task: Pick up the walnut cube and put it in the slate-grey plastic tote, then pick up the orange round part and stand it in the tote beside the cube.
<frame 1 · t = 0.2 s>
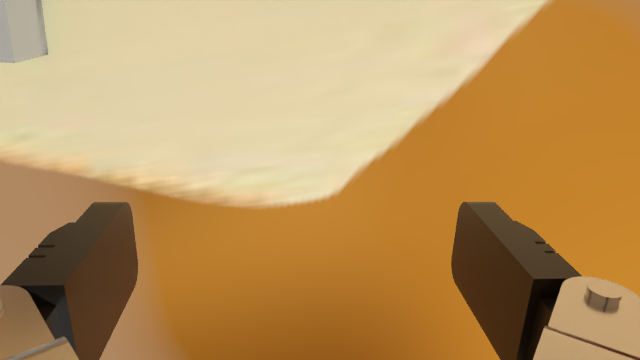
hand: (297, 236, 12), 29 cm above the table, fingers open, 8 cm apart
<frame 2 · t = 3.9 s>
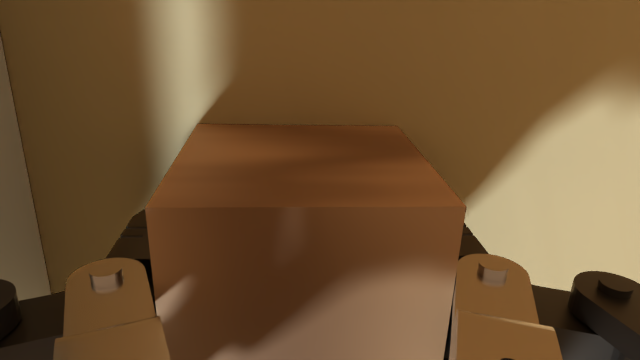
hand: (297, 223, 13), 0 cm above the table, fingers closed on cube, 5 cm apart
cube: (297, 215, 13), on the table, touching gripper
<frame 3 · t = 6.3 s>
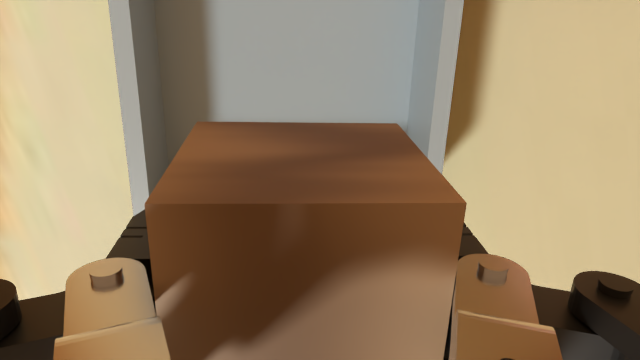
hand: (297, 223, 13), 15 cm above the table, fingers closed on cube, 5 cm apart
tote: (288, 24, 25), on the table
cube: (297, 213, 13), point 15 cm above the table, touching gripper
when the fingers open (3 cm above the table, at t = 8.9 s): cube drops 1 cm, resting on tote.
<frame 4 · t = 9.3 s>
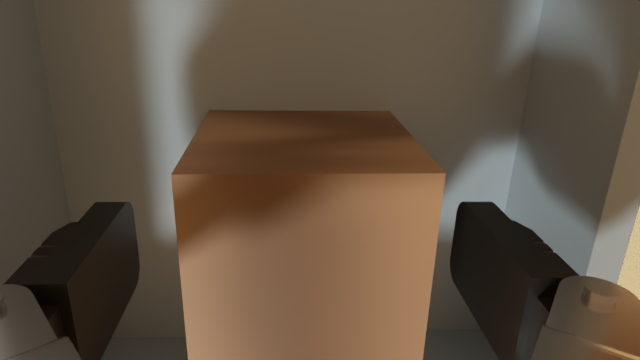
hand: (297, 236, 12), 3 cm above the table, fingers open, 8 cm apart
tote: (295, 52, 14), on the table
cube: (300, 194, 14), point 1 cm above the table, touching tote
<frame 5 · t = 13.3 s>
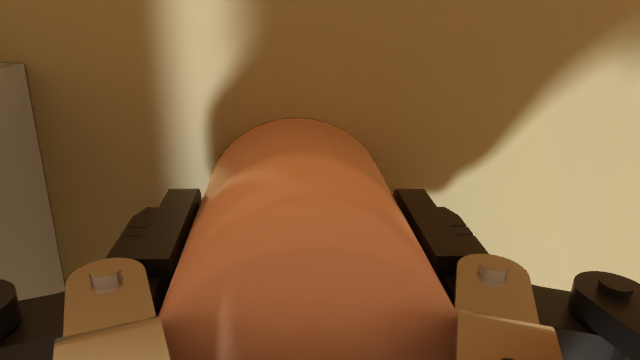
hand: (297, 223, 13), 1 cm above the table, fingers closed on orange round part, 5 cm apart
orange round part: (296, 204, 14), on the table, touching gripper
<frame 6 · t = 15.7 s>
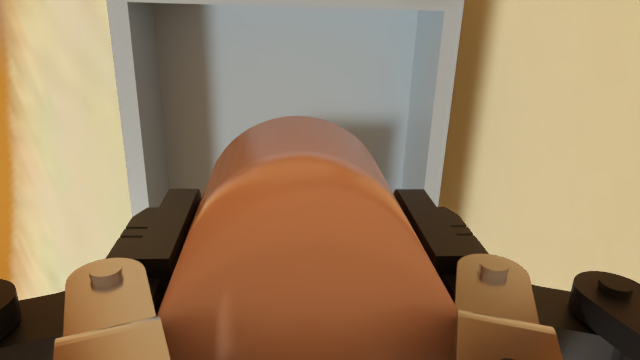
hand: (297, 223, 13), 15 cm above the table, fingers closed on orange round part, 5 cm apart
orange round part: (296, 202, 14), point 14 cm above the table, touching gripper
tote: (287, 170, 28), on the table
when the fingers open (3 cm above the table, at t = 18.2 s): orange round part stays where it is, resting on tote.
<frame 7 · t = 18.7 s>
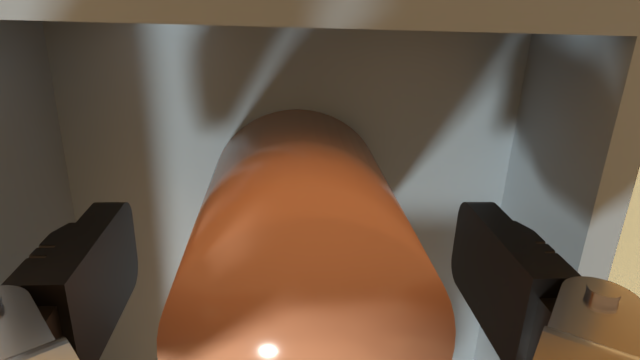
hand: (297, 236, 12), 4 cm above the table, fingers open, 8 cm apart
orange round part: (297, 191, 15), point 1 cm above the table, touching tote
tote: (292, 289, 17), on the table
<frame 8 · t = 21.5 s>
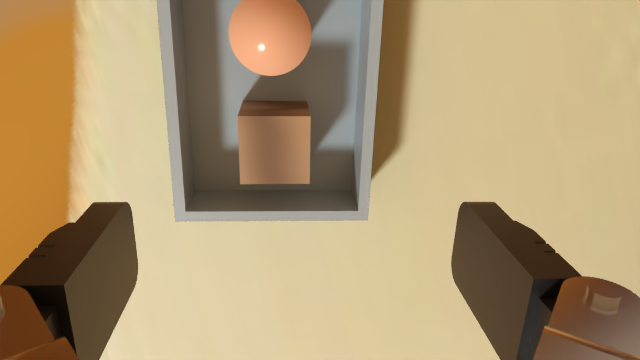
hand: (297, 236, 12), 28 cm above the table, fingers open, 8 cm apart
orange round part: (274, 27, 36), point 1 cm above the table, touching tote
tote: (273, 80, 38), on the table
cube: (275, 131, 39), point 1 cm above the table, touching tote
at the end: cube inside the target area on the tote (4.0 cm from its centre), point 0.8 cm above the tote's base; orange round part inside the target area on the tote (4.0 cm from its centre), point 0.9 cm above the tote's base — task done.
